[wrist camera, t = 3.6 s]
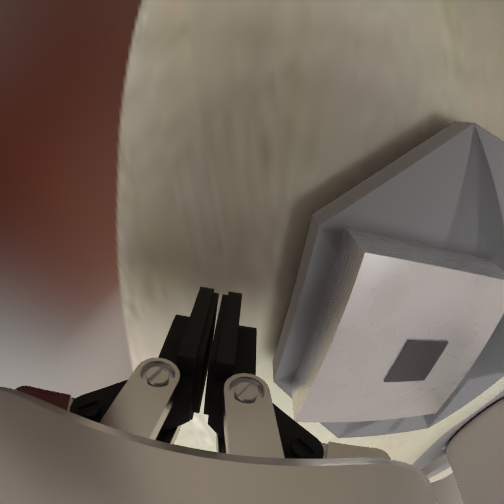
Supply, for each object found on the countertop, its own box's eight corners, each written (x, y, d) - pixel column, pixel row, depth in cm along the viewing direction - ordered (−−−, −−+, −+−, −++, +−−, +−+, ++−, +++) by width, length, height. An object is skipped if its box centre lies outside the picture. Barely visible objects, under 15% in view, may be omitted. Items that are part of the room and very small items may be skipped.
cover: (490, 260, 11) (519, 283, 9) (422, 385, 15) (436, 414, 12) (344, 226, 11) (365, 253, 8) (291, 385, 14) (294, 423, 12)
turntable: (568, 201, 11) (581, 208, 9) (465, 406, 19) (471, 417, 18) (339, 76, 10) (350, 69, 8) (254, 417, 18) (254, 435, 17)
